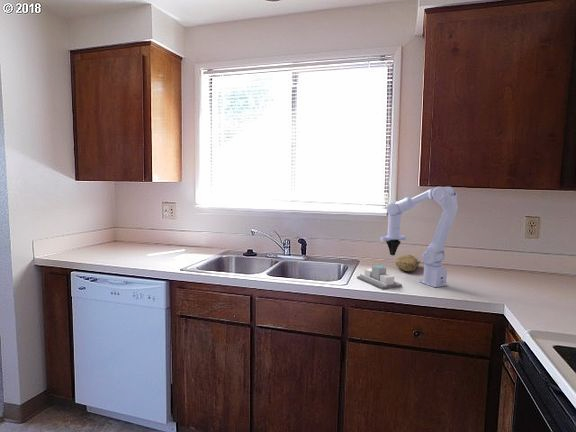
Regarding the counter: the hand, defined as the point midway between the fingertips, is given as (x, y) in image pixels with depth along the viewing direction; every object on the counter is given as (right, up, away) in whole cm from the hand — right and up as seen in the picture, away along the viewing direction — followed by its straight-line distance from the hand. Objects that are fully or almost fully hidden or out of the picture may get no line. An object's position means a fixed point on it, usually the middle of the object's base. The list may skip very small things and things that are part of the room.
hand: (392, 254), depth 182 cm
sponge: (+11, -9, +11) cm, 18 cm away
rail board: (-10, -11, -15) cm, 21 cm away
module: (-10, -10, -15) cm, 21 cm away
